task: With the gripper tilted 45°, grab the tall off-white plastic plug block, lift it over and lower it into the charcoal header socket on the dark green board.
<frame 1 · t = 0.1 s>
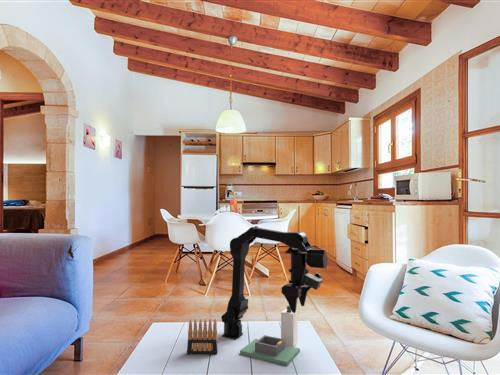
hand: (298, 309, 121), 15 cm above the table, tool pointing down, fingers open, 9 cm apart
plug block: (289, 343, 126), on the table
header board: (270, 352, 118), on the table
ammunition clip: (202, 354, 117), on the table
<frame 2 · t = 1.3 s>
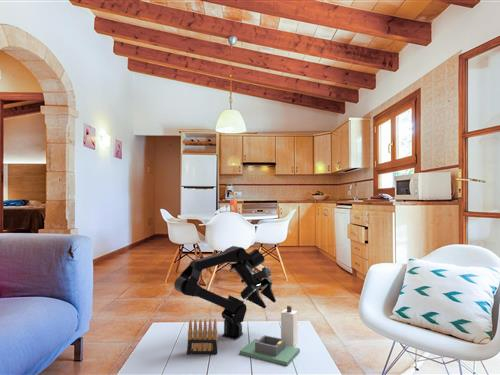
hand: (270, 304, 130), 13 cm above the table, tool tilted 45°, fingers open, 9 cm apart
nothing on the table moved.
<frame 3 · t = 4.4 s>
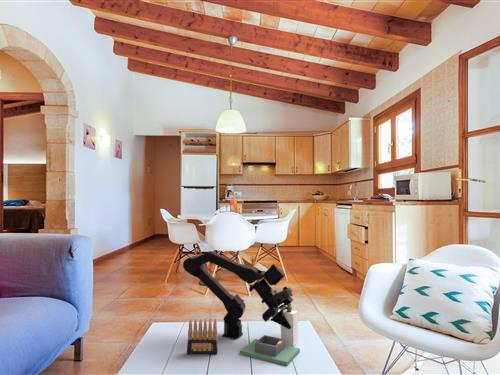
hand: (292, 326, 126), 7 cm above the table, tool tilted 45°, fingers closed on plug block, 4 cm apart
plug block: (289, 343, 126), on the table, touching gripper
everything else where it was.
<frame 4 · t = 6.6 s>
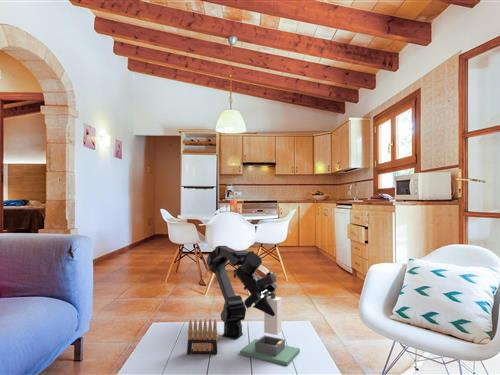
hand: (276, 313, 119), 14 cm above the table, tool tilted 45°, fingers closed on plug block, 4 cm apart
plug block: (272, 331, 119), point 7 cm above the table, touching gripper
everything else where it was.
when the fingers open (9 cm above the table, at t = 8.6 s): plug block stays where it is, resting on header board.
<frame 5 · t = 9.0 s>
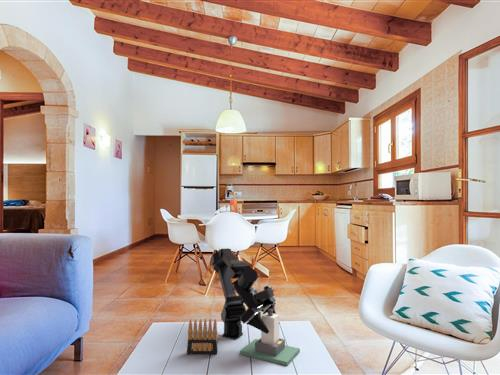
hand: (273, 328, 117), 9 cm above the table, tool tilted 45°, fingers open, 9 cm apart
plug block: (270, 349, 118), point 1 cm above the table, touching header board
everything else where it was.
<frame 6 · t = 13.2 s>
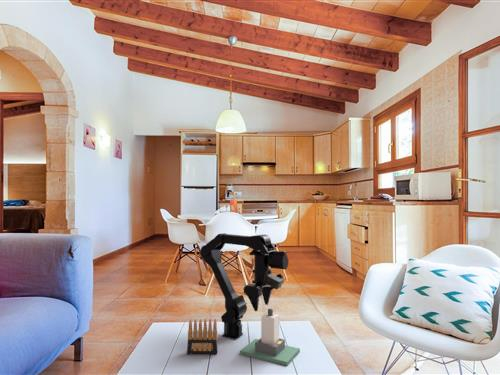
hand: (261, 307, 128), 13 cm above the table, tool pointing down, fingers open, 9 cm apart
nothing on the table moved.
at the end: plug block 0.1 cm off-centre on the header board, point 1.2 cm above the header board's base; plug block tilted 0°; the gripper is holding nothing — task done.
